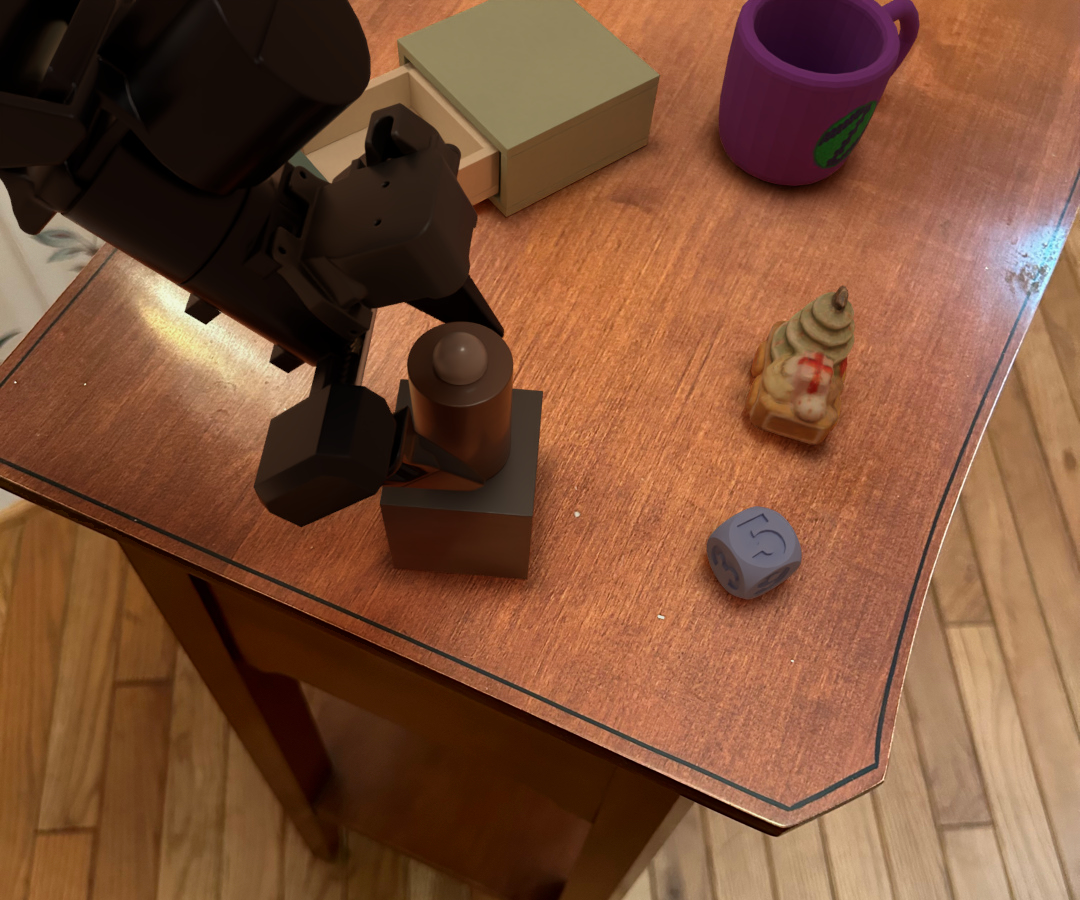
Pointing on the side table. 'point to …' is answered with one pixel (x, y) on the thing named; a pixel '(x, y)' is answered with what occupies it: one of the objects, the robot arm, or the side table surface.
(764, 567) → the decorative dice
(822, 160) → the mug
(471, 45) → the cabinet
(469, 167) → the drawer
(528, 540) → the block
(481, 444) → the pepper mill
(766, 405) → the ornament
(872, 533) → the side table surface
